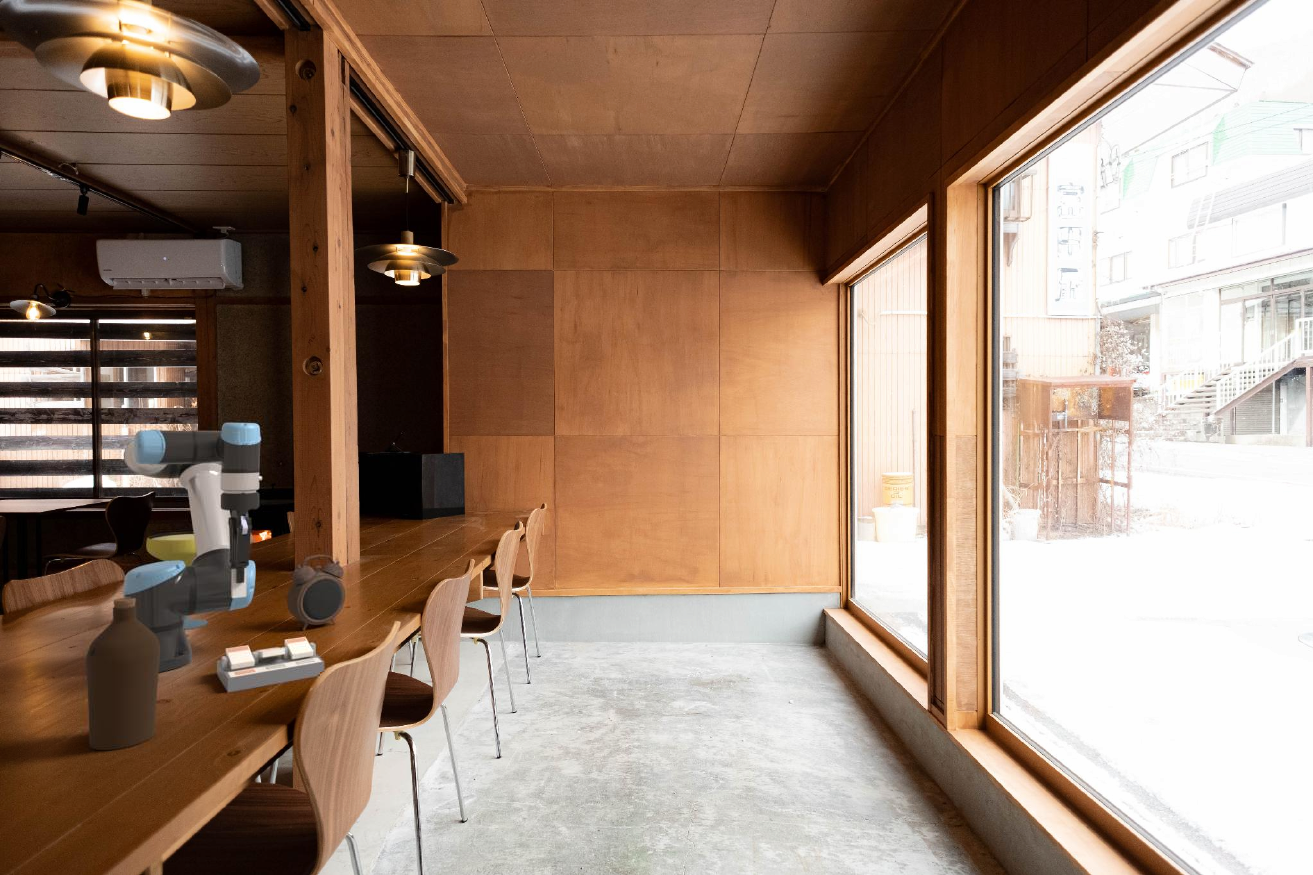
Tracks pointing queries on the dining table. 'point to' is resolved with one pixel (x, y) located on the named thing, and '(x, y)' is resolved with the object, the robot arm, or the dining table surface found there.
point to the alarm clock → (316, 593)
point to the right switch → (298, 648)
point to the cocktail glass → (176, 557)
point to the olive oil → (122, 681)
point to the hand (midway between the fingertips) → (238, 596)
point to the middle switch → (270, 652)
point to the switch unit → (269, 670)
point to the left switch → (240, 657)
